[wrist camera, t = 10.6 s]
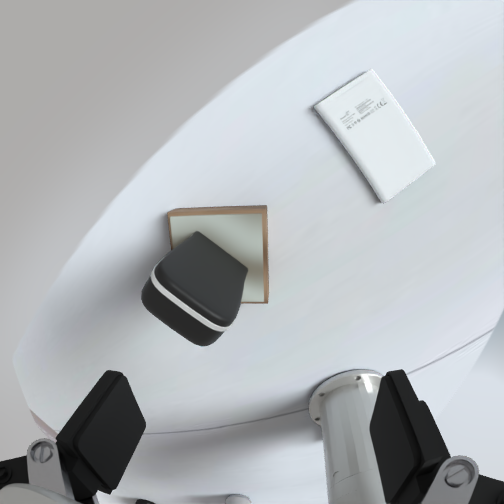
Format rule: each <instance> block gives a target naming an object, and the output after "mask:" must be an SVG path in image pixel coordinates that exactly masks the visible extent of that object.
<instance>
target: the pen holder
mask: <svg viewBox="0 0 504 504" xmlns="http://www.w3.org/2000/svg"><path fill="white" fill-rule="evenodd" d="M136 504H155V503H153V502H150V501H147V500H142V499H139V500H137V502H136Z"/></svg>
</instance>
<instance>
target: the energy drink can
mask: <svg viewBox="0 0 504 504" xmlns="http://www.w3.org/2000/svg"><path fill="white" fill-rule="evenodd" d="M225 504H251V501H250V500H249V497H247V496H244V495H239V494H234V495H230V496H229V497H228V498H227V499H226V502H225Z"/></svg>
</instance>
